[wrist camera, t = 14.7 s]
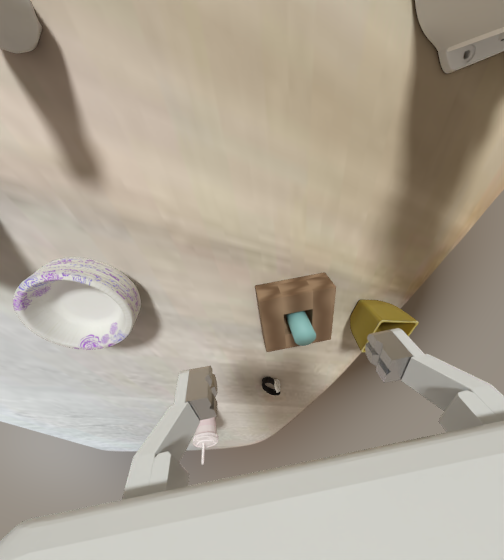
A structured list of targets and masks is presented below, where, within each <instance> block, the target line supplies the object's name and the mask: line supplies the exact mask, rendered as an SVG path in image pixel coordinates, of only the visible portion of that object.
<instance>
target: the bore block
mask: <svg viewBox="0 0 504 560" xmlns="http://www.w3.org/2000/svg"><path fill="white" fill-rule="evenodd" d="M255 289H256V295H257V301H258V308H259V314H260V320H261V327H262V333H263V338H264V342H265V347H266V351H267V352H270V351H275V350H280V349H285V348H290V347H295V346H300V345H298V344H296V343H295V340H294V338H293V335H292V332H291V330H290V327H289V324H288V322H287V319H286V316H285V314H289V313H295V312H300V311H305V313H306V315H307V317H308V319H309V321H310V323H311V325H312V327H313V329H314V331H315V333H316V339H315V340H314V341H313V342H312V343H315V342H320V341H325V340H330V339H331V333H332V323H333V313H334V303H335V293H336V286H335V285H334V284H333V282H332V281H331V280H330V279H329V277H328V276H327V275H326V273H319V274H314V275H309V276H304V277H298V278H293V279H288V280H282V281H277V282H272V283H267V284H261V285H256V286H255Z"/></svg>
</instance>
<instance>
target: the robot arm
mask: <svg viewBox="0 0 504 560" xmlns="http://www.w3.org/2000/svg"><path fill="white" fill-rule="evenodd" d="M415 5H416V12H417V17H418V20H419V23H420V26H421V28H422V30H423V32H424V34H425V35H426V37H427V38H428V39H429V40H430V41H431V42H432V44H433V45H434V46H435V47H436V49H437V50H438V54H439V59H440V63H441V67H442V69H443V71H444V72H445V73H451V72H454V71H456V70H459V69H461V68H464V67H466V66H469V65H471V64H474V63H476V62H478V61H481V60H483V59H486V58H488V57H491V56H493V55H496V54H498V53H501V52H503V51H504V0H415ZM464 53H465V57H464V58H463V56H464ZM367 339H368V341H369V342H368V343H367V344H366V346H365V351H366V355H367V357H368V359H369V360H370V362H371V363H372V364H374V365H376V371H377V373H378V374H379V376H380V377H381V379H382V381H383V382H384V383H385V382H391V381H397V380H401V381H402V382H404V383H405V384H406V385H408V386H409V387H411V388H412V389H414V390H415V391H416V392H418V393H419V394H421V395H422V396H423V397H425V398H427V399H428V400H429V401H430V402H432V403H433V404H435V405H436V406H437V407H439V408H440V409H442V410H443V411H444V413H443V414H442V415H441V417H440V418H439V423H440V424H441V426H442V427H443V429H444V430H445V431H446V433H441V434H437V435H432V436H427V437H422V438H417V439H413V440H407V441H403V442H398V443H393V444H388V445H383V446H379V447H374V448H369V449H364V450H359V451H355V452H350V453H345V454H340V455H335V456H331V457H326V458H321V459H316V460H312V461H306V462H302V463H297V464H292V465H287V466H283V467H278V468H273V469H269V470H264V471H258V472H253V473H249V474H244V475H239V476H234V477H229V478H225V479H220V480H215V481H211V482H205V483H201V484H196V485H191V486H188V482H189V473H188V471H187V470H186V469H185V468H184V467H183V466H182V465H181V464H180V461H181V459H182V457H183V455H184V453H185V451H186V449H187V447H188V445H189V443H190V441H191V439H192V437H193V435H194V433H195V431H196V429H197V427H198V425H199V423H200V420H204V419H209V418H213V417H217V401H216V398H215V397H216V395H217V381H216V377H215V375H214V374H212V368H211V366H206V367H201V368H195V369H189V370H184V371H180V373H179V375H178V381H177V387H176V393H175V399H174V405H171V406H170V407H169V408H168V410H167V411H166V412H165V414H164V415H163V417H162V418H161V419H160V421H159V422H158V424H157V425H156V426H155V428H154V429H153V431H152V432H151V433H150V435H149V436H148V438H147V439H146V440H145V442H144V443H143V444H142V446H141V447H140V449H139V450H138V451H137V453H136V454H135V456H134V457H133V460H132V464H131V468H130V472H129V475H128V479H127V482H126V486H125V490H124V494H123V497H122V500H119V501H114V502H109V503H105V504H100V505H95V506H90V507H86V508H81V509H76V510H72V511H67V512H62V513H57V514H52V515H47V516H42V517H36V518H32V519H29V520H26V521H23V522H21V523H20V524H19V525H17V526H16V527H15V528H13V529H12V530H11V531H10V532H9V533H8V534H7V535H6V536H5V537H4V538H3V539H2V540H1V541H0V560H504V396H503V395H502V394H501V393H500V392H499V391H498V390H497V389H495V388H494V387H493V386H492V385H491V384H489V383H487V382H485V381H483V380H481V379H479V378H477V377H475V376H473V375H471V374H469V373H466V372H464V371H462V370H460V369H458V368H456V367H454V366H452V365H450V364H448V363H446V362H444V361H442V360H439V359H438V358H436V357H434V356H431V355H429V354H424V353H423V352H422V351H421V350H420V348H419V347H418V346H417V345H416V344H415V343H414V342H413V341H412V340H411V339H410V338H409V337H408V336H407V335H406V333H405V332H404V331H403V330H402V329H400V328H396V329H391V330H385V331H380V332H376V333H371V334H369V335H368V337H367Z"/></svg>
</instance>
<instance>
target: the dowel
mask: <svg viewBox="0 0 504 560" xmlns="http://www.w3.org/2000/svg"><path fill="white" fill-rule="evenodd" d="M285 316H286V319H287V322H288V324H289V327H290V330H291V332H292V335H293V338H294V340H295V343H296V344H298V345H301V346H304V345H308V344H311V343H312V342H313V341H314V340H315V339H316V333H315V331H314V329H313V327H312V325H311V323H310V321H309V319H308V317H307V315H306V313H305V311H300V312H295V313H289V314H285Z"/></svg>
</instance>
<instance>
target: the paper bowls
mask: <svg viewBox="0 0 504 560" xmlns="http://www.w3.org/2000/svg"><path fill="white" fill-rule="evenodd" d="M13 307H14V310H15V313H16V315H17V316H18V318H19V319H20V320H21V322H22V323H23V324H24V325H25V326H26V327H27V328H28V329H29V330H31V331H32V332H33V333H35V334H36V335H38V336H40V337H41V338H43V339H45V340H47V341H50V342H52V343H55V344H58V345H61V346H65V347H69V348H75V349H86V350H89V349H90V350H91V349H101V348H106V347H110V346H113V345H115V344H118V343H119V342H121V341H122V340H124V339H125V338H126V337H127V336H128V335H129V334H130V333H131V331H132V329H133V326H134V324H135V322H136V319H137V317H138V314H139V312H140V308H141V298H140V295H139V292H138V290H137V288H136V286H135V285H134V283H133V282H132V281H131V280H130V279H129V278H128V277H126V276H125V275H124V274H123V273H121V272H120V271H118V270H117V269H115V268H114V267H112V266H110V265H107V264H105V263H102V262H99V261H96V260H92V259H88V258H78V257H67V258H61V259H57V260H53V261H51V262H49V263H47V264H46V265H44V266H42V267H41V268H40V269H38V270H37V271H36V272H35V273H33V274H32V275H31V276H29V277H28V278H27V279H25V280H24V281H23V282H22V283H21V284H20V285H19V286H18V288H17V289H16V291H15V294H14V297H13Z"/></svg>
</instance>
